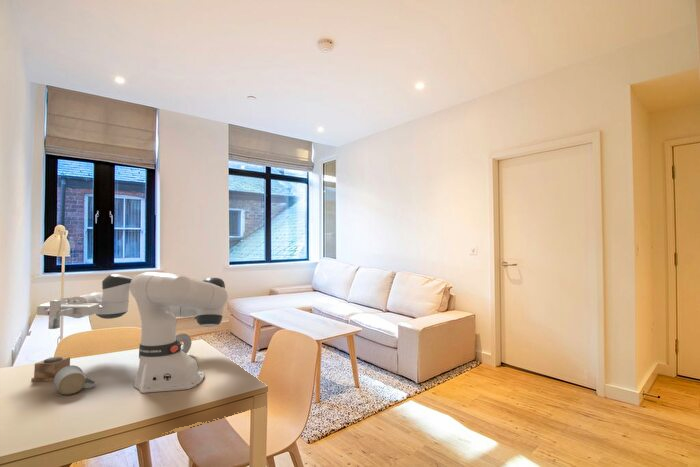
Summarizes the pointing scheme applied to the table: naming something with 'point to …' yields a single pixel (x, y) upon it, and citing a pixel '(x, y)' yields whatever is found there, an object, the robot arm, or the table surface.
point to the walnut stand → (49, 368)
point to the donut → (184, 342)
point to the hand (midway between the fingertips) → (52, 313)
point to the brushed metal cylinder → (54, 314)
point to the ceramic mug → (72, 380)
